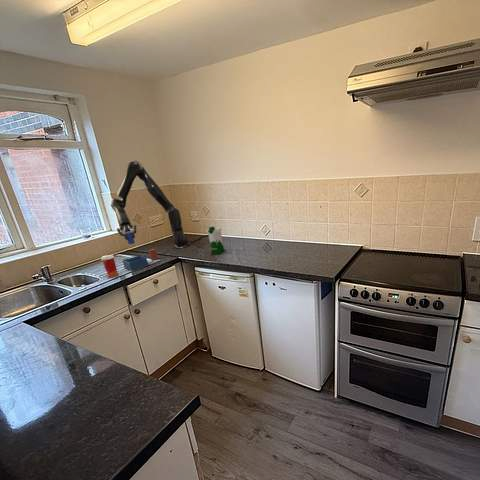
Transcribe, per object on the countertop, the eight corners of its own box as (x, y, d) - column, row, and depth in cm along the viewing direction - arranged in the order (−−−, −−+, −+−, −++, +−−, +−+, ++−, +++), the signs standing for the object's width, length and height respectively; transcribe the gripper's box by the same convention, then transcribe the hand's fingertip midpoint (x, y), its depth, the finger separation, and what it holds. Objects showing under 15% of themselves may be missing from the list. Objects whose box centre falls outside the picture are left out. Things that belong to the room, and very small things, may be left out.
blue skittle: (133, 242, 226) (130, 231, 223) (135, 242, 223) (132, 232, 220) (127, 243, 223) (124, 233, 220) (129, 244, 220) (126, 233, 217)
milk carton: (210, 254, 222) (204, 228, 214) (217, 250, 229) (212, 225, 222) (219, 254, 218) (214, 228, 211) (226, 251, 225) (221, 225, 218)
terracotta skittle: (156, 258, 229) (153, 248, 226) (158, 259, 226) (156, 249, 223) (150, 260, 226) (147, 249, 223) (153, 260, 223) (150, 250, 220)
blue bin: (141, 262, 222) (139, 255, 220) (148, 264, 214) (146, 257, 212) (124, 267, 214) (122, 260, 212) (131, 270, 206) (129, 262, 204)
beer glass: (110, 274, 203) (103, 255, 198) (121, 273, 203) (115, 253, 198) (105, 279, 196) (98, 258, 190) (116, 277, 196) (110, 257, 191)
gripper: (112, 219, 219) (119, 237, 213) (133, 215, 225) (140, 233, 220) (114, 225, 225) (120, 243, 220) (134, 221, 231) (141, 239, 226)
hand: (130, 238), depth 220 cm, fingers closed on blue skittle, 4 cm apart
